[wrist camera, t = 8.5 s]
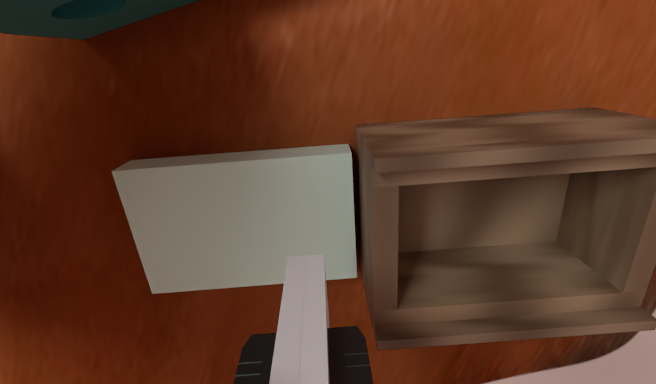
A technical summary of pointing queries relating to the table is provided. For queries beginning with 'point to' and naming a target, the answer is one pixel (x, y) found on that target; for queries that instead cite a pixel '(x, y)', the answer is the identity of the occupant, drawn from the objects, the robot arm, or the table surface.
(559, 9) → the table surface
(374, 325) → the box
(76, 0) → the bracket
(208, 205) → the lid
